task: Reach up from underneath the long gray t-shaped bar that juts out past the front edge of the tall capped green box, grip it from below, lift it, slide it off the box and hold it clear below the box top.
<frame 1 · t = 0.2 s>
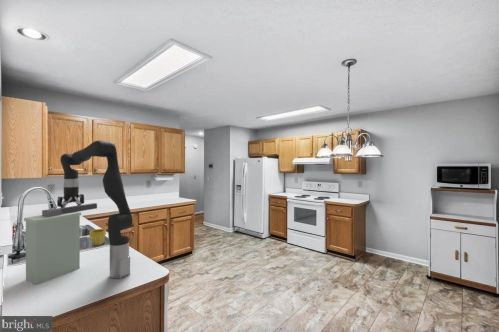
hand: (71, 212, 147), 29 cm above the worktop, tool pointing down, fingers open, 8 cm apart
tall capped green box: (54, 273, 128), on the worktop
plant pot: (97, 244, 175), on the worktop
long gray t-shaped bar: (72, 211, 136), point 32 cm above the worktop, touching tall capped green box
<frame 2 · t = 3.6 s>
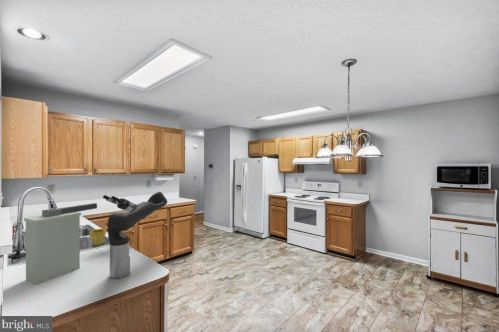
hand: (107, 196, 163), 37 cm above the worktop, tool pointing upward, fingers open, 8 cm apart
nothing on the worktop moved.
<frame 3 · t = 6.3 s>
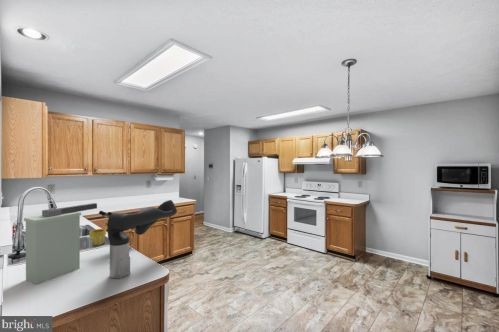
hand: (103, 212, 152), 28 cm above the worktop, tool pointing upward, fingers open, 8 cm apart
nothing on the worktop moved.
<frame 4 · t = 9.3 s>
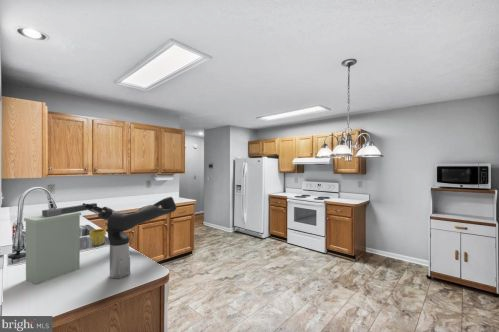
hand: (84, 205, 142), 35 cm above the worktop, tool pointing upward, fingers closed on long gray t-shaped bar, 3 cm apart
long gray t-shaped bar: (72, 211, 136), point 32 cm above the worktop, touching gripper, tall capped green box
everything else where it was.
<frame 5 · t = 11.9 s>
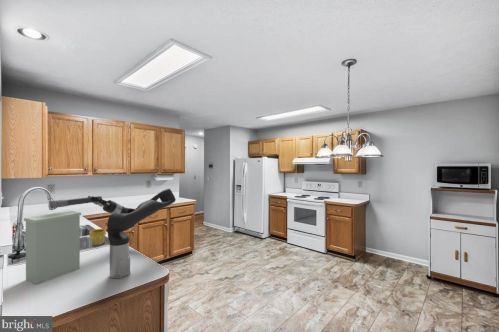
hand: (89, 197, 146), 39 cm above the worktop, tool pointing upward, fingers closed on long gray t-shaped bar, 3 cm apart
long gray t-shaped bar: (78, 203, 140), point 36 cm above the worktop, touching gripper
everything else where it was.
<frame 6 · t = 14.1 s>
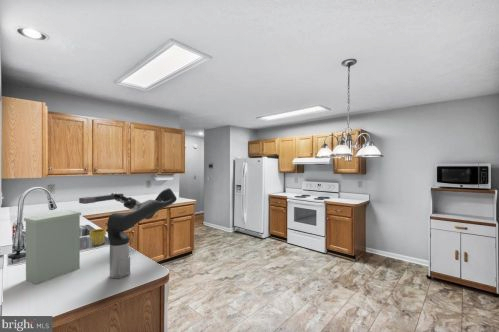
hand: (113, 194, 159), 39 cm above the worktop, tool pointing upward, fingers closed on long gray t-shaped bar, 3 cm apart
long gray t-shaped bar: (103, 200, 153), point 36 cm above the worktop, touching gripper
everything else where it was.
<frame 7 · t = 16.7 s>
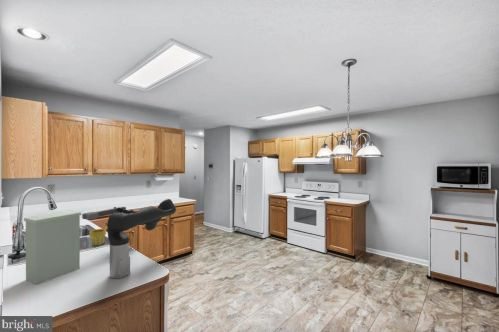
hand: (115, 208, 160), 29 cm above the worktop, tool pointing upward, fingers closed on long gray t-shaped bar, 3 cm apart
long gray t-shaped bar: (106, 214, 154), point 26 cm above the worktop, touching gripper
everything else where it was.
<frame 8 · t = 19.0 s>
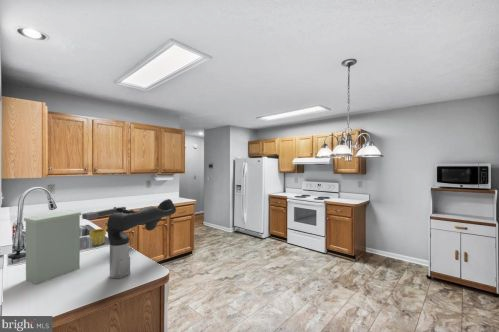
hand: (115, 208, 160), 29 cm above the worktop, tool pointing upward, fingers closed on long gray t-shaped bar, 3 cm apart
long gray t-shaped bar: (106, 214, 154), point 26 cm above the worktop, touching gripper
everything else where it was.
at the end: long gray t-shaped bar touching gripper; the gripper is holding long gray t-shaped bar; long gray t-shaped bar moved 20.7 cm from its start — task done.
